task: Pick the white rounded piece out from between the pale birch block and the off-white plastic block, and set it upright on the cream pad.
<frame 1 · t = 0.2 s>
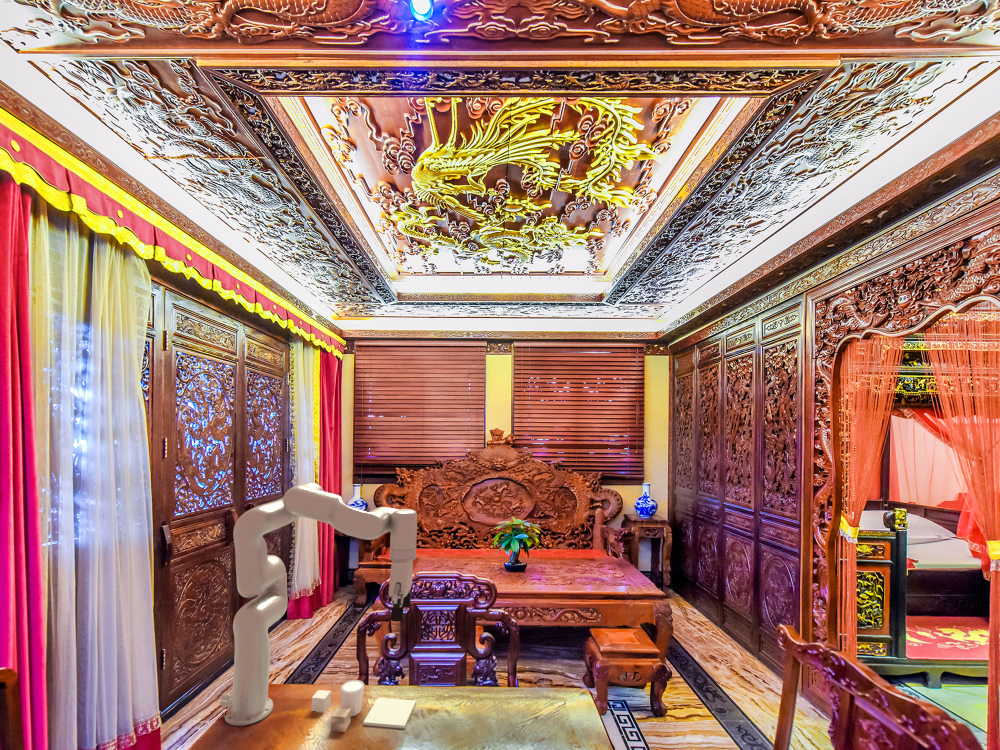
hand: (401, 613, 138), 30 cm above the table, tool pointing down, fingers open, 9 cm apart
white rounded piece: (351, 711, 142), on the table
birch block: (340, 727, 135), on the table
cream pad: (390, 713, 141), on the table
off-white plastic block: (320, 708, 143), on the table
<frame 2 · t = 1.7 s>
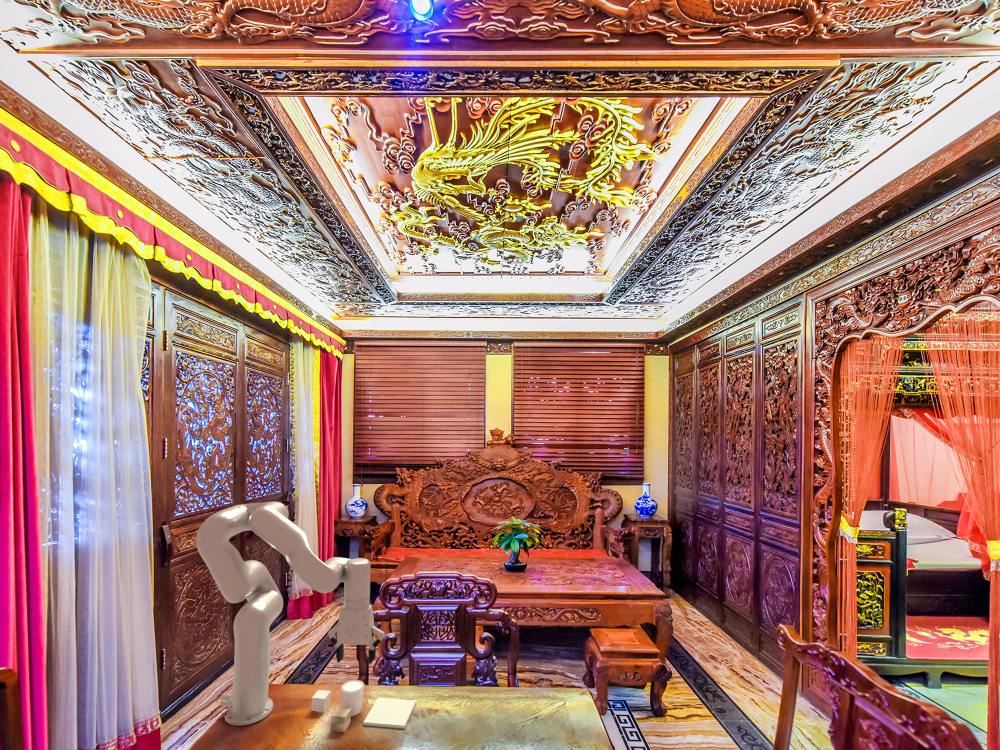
hand: (355, 661, 143), 14 cm above the table, tool pointing down, fingers open, 9 cm apart
nothing on the table moved.
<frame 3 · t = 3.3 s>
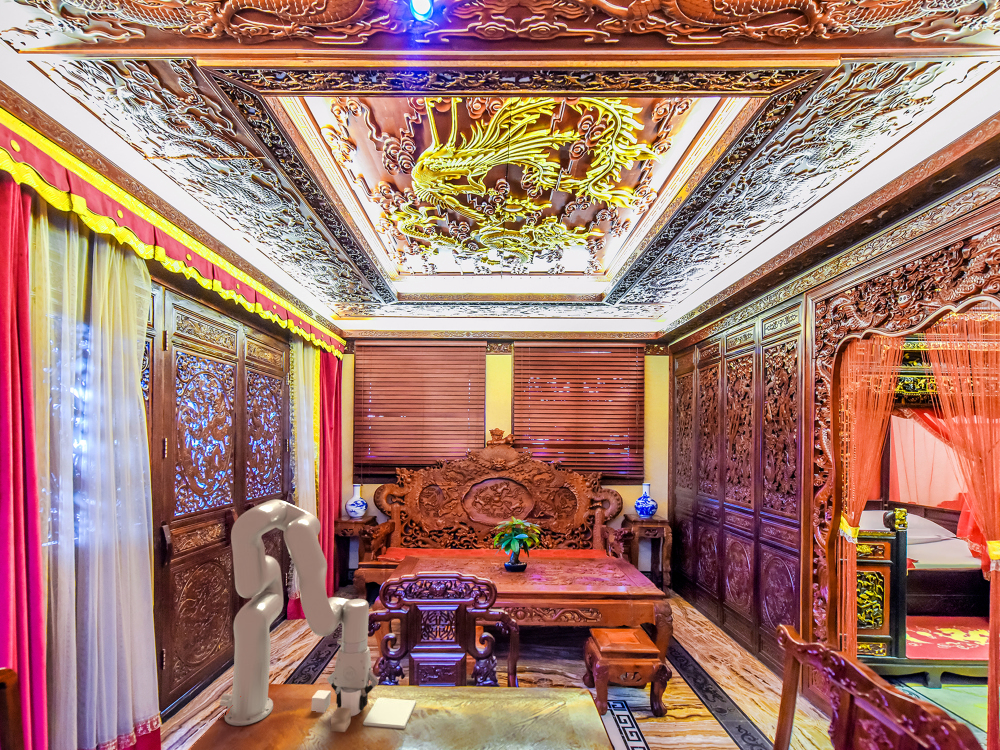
hand: (351, 706, 142), 1 cm above the table, tool pointing down, fingers closed on white rounded piece, 6 cm apart
white rounded piece: (351, 711, 142), on the table, touching gripper
everything else where it was.
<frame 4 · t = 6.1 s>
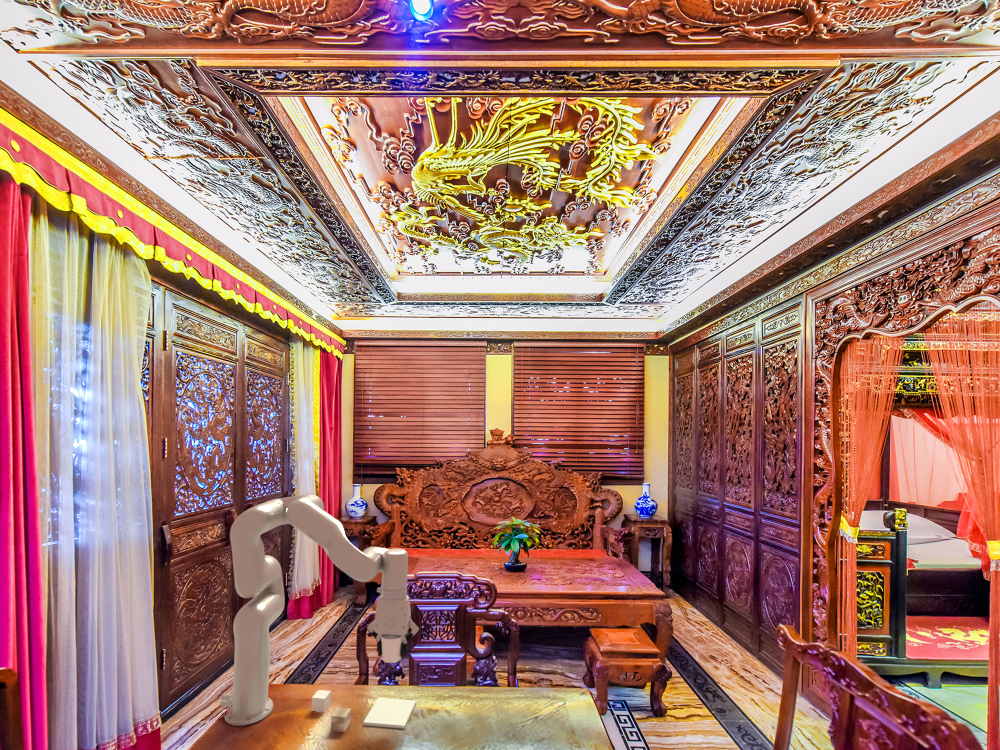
hand: (392, 654, 142), 17 cm above the table, tool pointing down, fingers closed on white rounded piece, 6 cm apart
white rounded piece: (392, 658, 142), point 15 cm above the table, touching gripper
everything else where it was.
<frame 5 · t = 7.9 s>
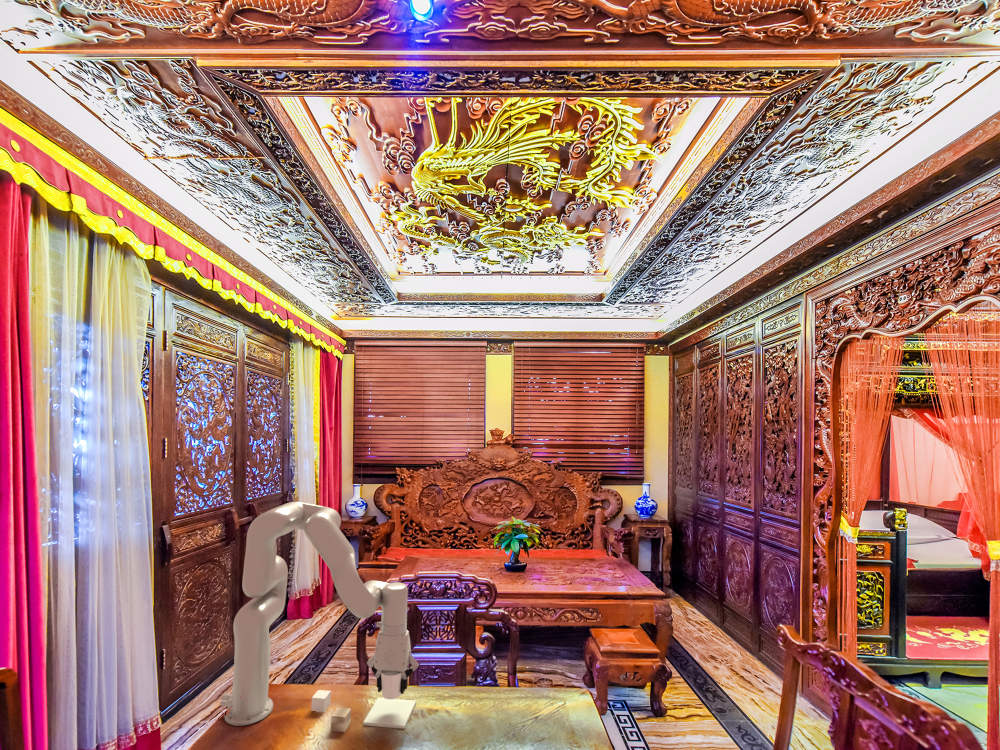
hand: (391, 689, 141), 7 cm above the table, tool pointing down, fingers closed on white rounded piece, 6 cm apart
white rounded piece: (392, 694, 141), point 5 cm above the table, touching gripper
everything else where it was.
when the fingers open (3 cm above the table, at t = 9.1 s): white rounded piece drops 1 cm, resting on cream pad.
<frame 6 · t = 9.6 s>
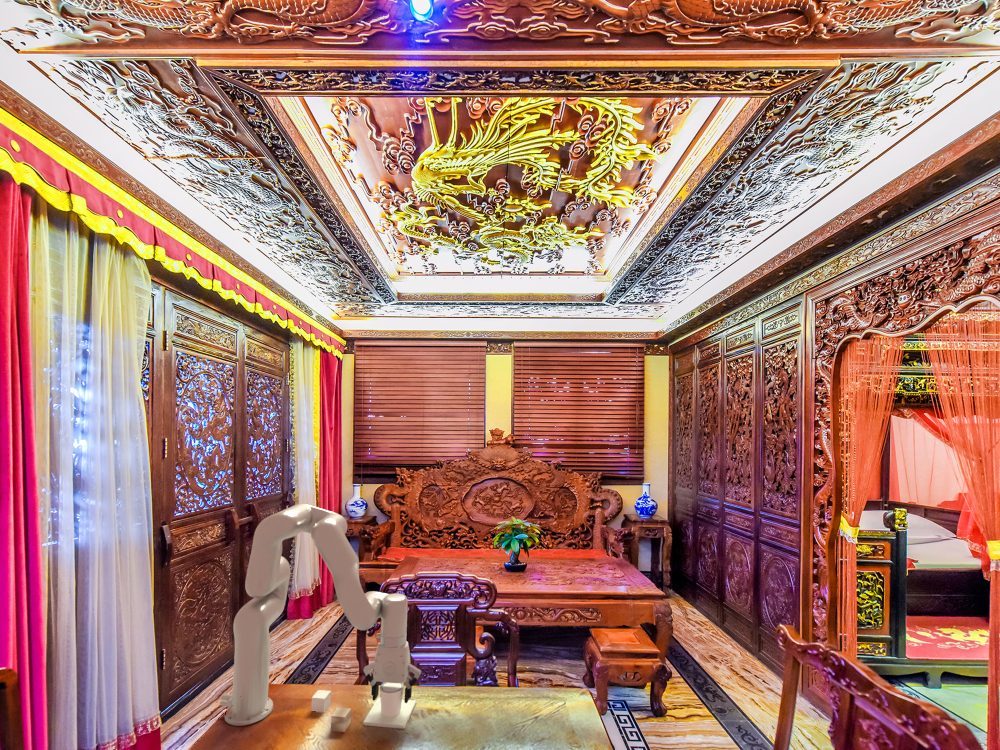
hand: (391, 699, 141), 4 cm above the table, tool pointing down, fingers open, 9 cm apart
white rounded piece: (390, 711, 141), point 1 cm above the table, touching cream pad
everything else where it was.
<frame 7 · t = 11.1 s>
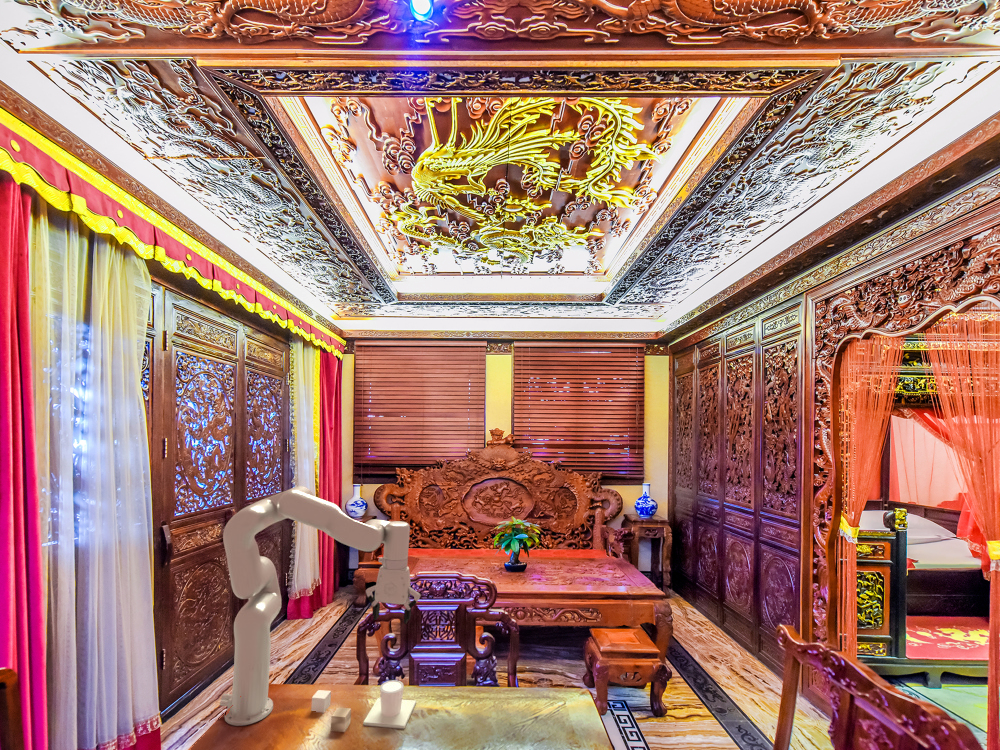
hand: (391, 620, 147), 25 cm above the table, tool pointing down, fingers open, 9 cm apart
nothing on the table moved.
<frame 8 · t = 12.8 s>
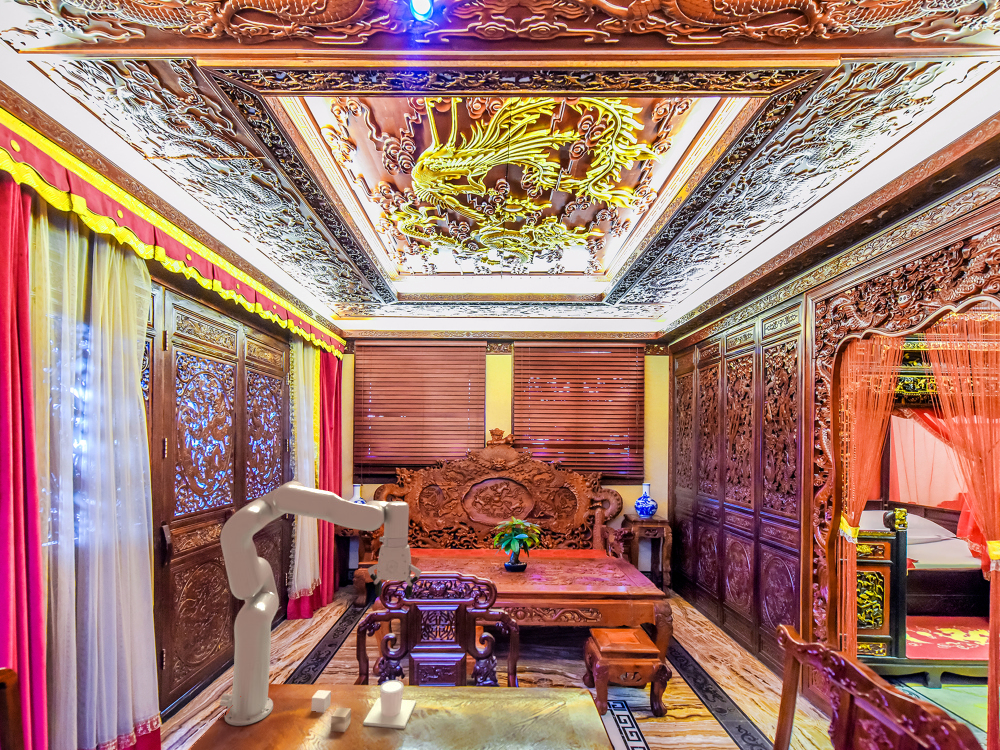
hand: (393, 596, 152), 30 cm above the table, tool pointing down, fingers open, 9 cm apart
nothing on the table moved.
at the end: white rounded piece inside the target area on the cream pad (0.1 cm from its centre), point 0.6 cm above the cream pad's base; white rounded piece tilted 0°; the gripper is holding nothing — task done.
